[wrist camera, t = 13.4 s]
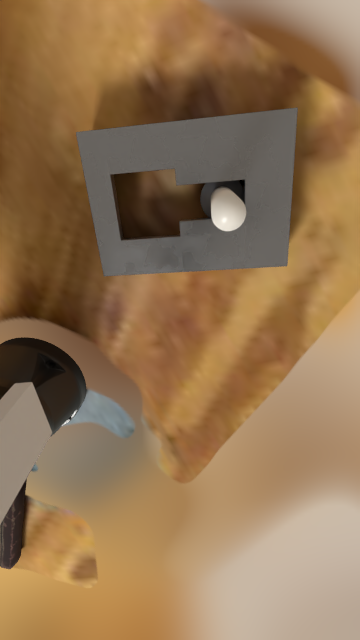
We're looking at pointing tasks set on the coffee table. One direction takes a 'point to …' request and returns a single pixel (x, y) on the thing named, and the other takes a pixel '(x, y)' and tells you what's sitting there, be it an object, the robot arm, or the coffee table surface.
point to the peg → (224, 204)
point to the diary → (12, 531)
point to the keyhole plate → (193, 168)
